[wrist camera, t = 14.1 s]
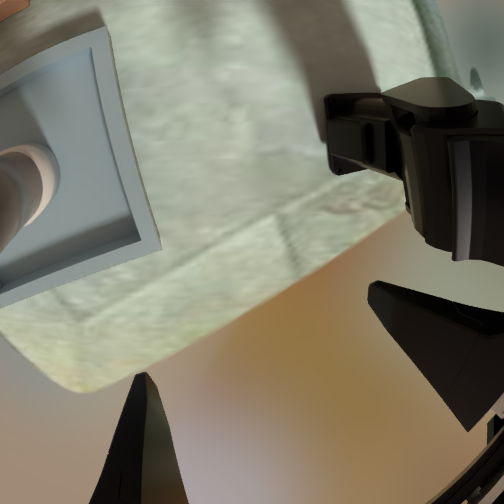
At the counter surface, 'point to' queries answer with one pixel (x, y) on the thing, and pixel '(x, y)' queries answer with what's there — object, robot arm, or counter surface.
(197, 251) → the counter surface
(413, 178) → the robot arm
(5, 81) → the parts tray
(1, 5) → the socket ring
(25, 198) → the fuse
